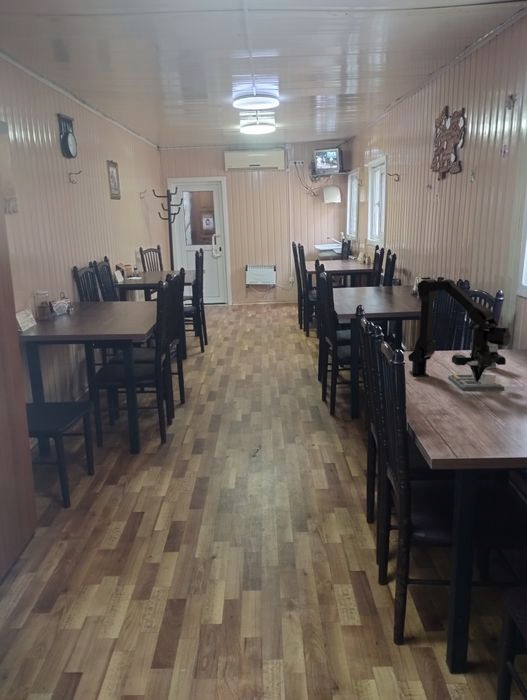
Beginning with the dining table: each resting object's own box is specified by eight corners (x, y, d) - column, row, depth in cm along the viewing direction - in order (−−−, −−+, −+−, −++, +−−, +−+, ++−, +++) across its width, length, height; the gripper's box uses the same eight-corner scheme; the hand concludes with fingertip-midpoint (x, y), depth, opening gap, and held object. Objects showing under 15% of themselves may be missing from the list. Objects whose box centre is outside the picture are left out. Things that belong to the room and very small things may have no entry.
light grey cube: (472, 376, 227) (472, 366, 226) (481, 376, 227) (482, 366, 226) (475, 378, 224) (476, 369, 223) (485, 378, 224) (486, 369, 223)
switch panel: (448, 378, 229) (448, 374, 229) (487, 378, 229) (487, 373, 229) (462, 390, 214) (462, 385, 213) (504, 389, 214) (504, 384, 213)
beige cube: (480, 382, 218) (481, 372, 218) (491, 382, 218) (492, 372, 218) (484, 385, 215) (485, 375, 214) (494, 385, 215) (495, 375, 214)
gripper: (463, 346, 205) (460, 388, 209) (514, 346, 205) (510, 387, 209) (452, 340, 216) (449, 379, 219) (501, 339, 216) (497, 378, 220)
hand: (476, 381), depth 217 cm, fingers closed
